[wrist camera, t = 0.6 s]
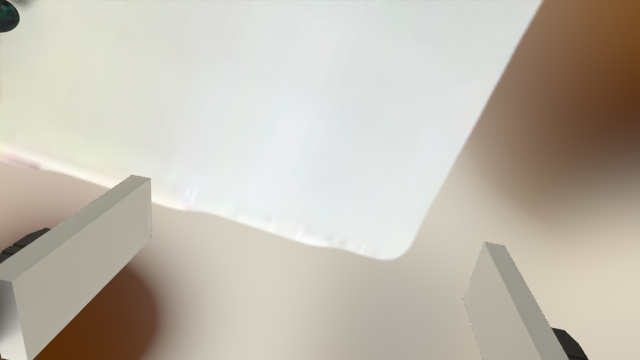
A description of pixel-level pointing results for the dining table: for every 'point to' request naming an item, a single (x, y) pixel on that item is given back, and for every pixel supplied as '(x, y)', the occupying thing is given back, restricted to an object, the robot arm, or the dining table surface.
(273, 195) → the dining table surface
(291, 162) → the dining table surface
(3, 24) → the decorative duck model
